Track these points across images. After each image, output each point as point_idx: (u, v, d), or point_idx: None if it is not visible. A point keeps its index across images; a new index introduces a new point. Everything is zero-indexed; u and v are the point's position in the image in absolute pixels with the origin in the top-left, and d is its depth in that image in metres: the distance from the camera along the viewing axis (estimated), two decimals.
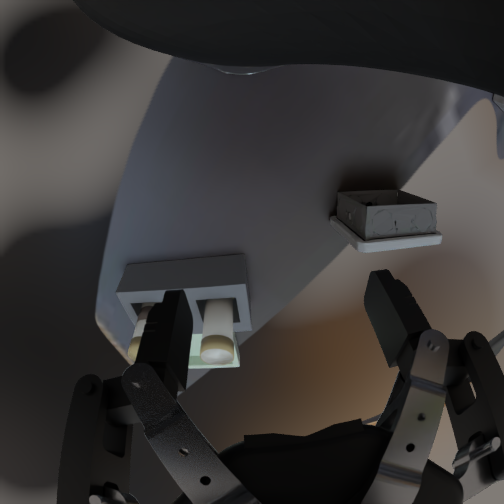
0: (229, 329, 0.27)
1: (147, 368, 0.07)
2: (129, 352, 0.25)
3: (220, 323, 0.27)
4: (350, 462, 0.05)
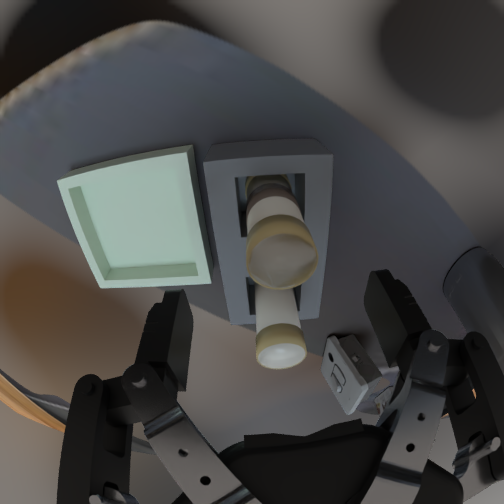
0: None
1: (147, 368, 0.07)
2: (303, 239, 0.12)
3: None
4: (350, 462, 0.05)
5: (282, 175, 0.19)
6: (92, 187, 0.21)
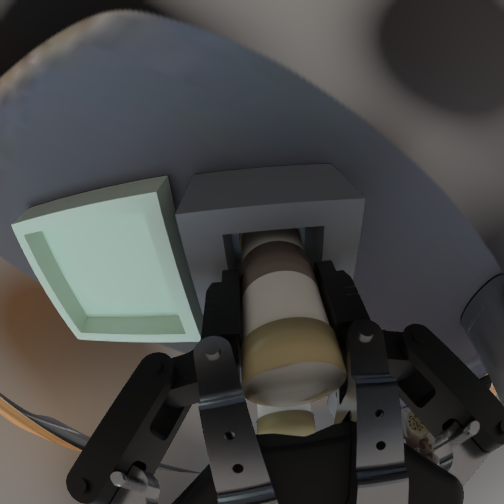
0: None
1: (221, 341, 0.08)
2: (328, 364, 0.07)
3: None
4: (350, 462, 0.05)
5: None
6: (53, 229, 0.16)
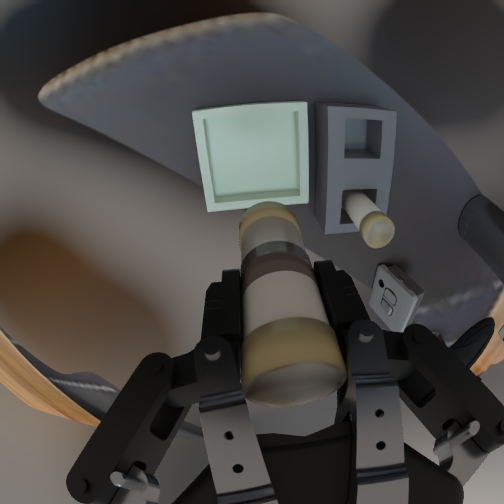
0: None
1: (221, 341, 0.08)
2: (328, 364, 0.07)
3: None
4: (350, 462, 0.05)
5: (289, 220, 0.14)
6: (217, 123, 0.28)
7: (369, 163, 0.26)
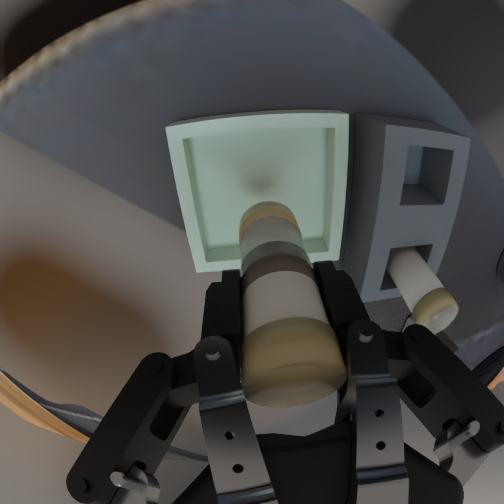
0: None
1: (221, 341, 0.08)
2: (328, 364, 0.07)
3: None
4: (350, 462, 0.05)
5: (289, 220, 0.14)
6: (207, 143, 0.18)
7: (430, 211, 0.17)
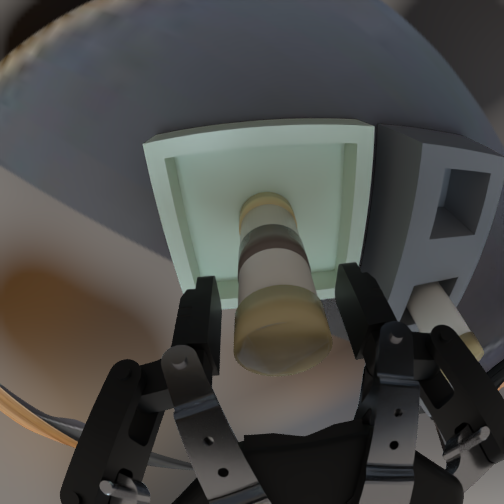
0: None
1: (188, 350, 0.08)
2: (313, 326, 0.08)
3: None
4: (350, 462, 0.05)
5: (285, 208, 0.15)
6: (197, 161, 0.15)
7: (460, 243, 0.14)
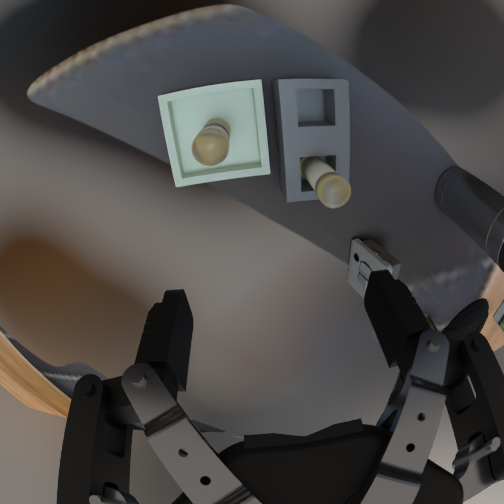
0: None
1: (147, 368, 0.07)
2: (218, 133, 0.22)
3: None
4: (350, 462, 0.05)
5: (223, 122, 0.29)
6: (182, 106, 0.29)
7: (324, 130, 0.28)
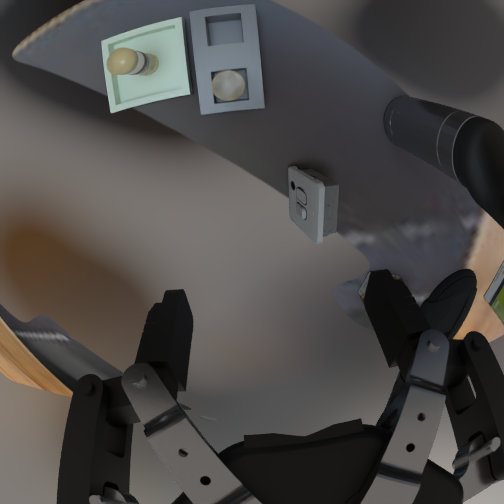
0: None
1: (147, 368, 0.07)
2: (126, 49, 0.20)
3: None
4: (350, 462, 0.05)
5: (150, 54, 0.27)
6: None
7: (233, 47, 0.26)
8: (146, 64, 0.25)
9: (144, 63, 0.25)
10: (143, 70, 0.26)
